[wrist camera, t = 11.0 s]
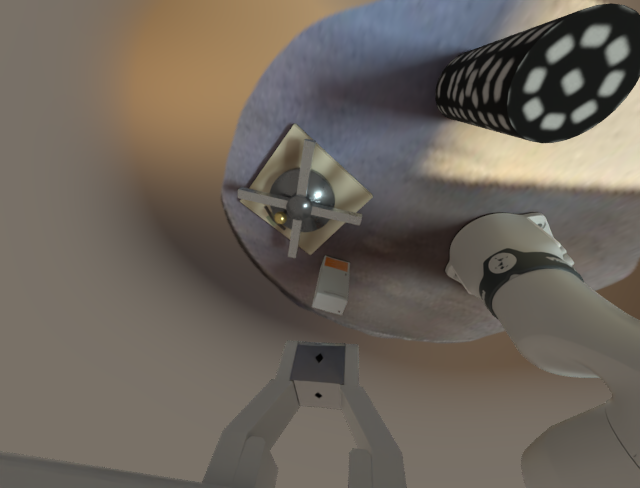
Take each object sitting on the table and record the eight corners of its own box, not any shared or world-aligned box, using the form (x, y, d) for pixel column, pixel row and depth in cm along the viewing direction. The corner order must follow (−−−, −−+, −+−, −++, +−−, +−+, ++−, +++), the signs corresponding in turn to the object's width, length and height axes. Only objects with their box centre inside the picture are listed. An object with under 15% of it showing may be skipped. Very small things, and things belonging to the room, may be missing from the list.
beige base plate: (372, 194, 44) (372, 197, 43) (311, 252, 53) (310, 255, 52) (295, 123, 40) (293, 124, 38) (242, 199, 48) (239, 201, 47)
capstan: (313, 132, 39) (309, 136, 35) (364, 213, 45) (365, 224, 41) (241, 186, 45) (231, 193, 42) (295, 250, 51) (290, 262, 48)
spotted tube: (510, 89, 34) (662, 85, 17) (452, 132, 38) (531, 164, 21) (483, 33, 31) (631, -37, 14) (424, 85, 35) (487, 78, 18)
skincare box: (350, 261, 53) (349, 301, 43) (344, 275, 55) (342, 316, 45) (324, 254, 53) (316, 292, 43) (319, 268, 55) (311, 307, 45)
